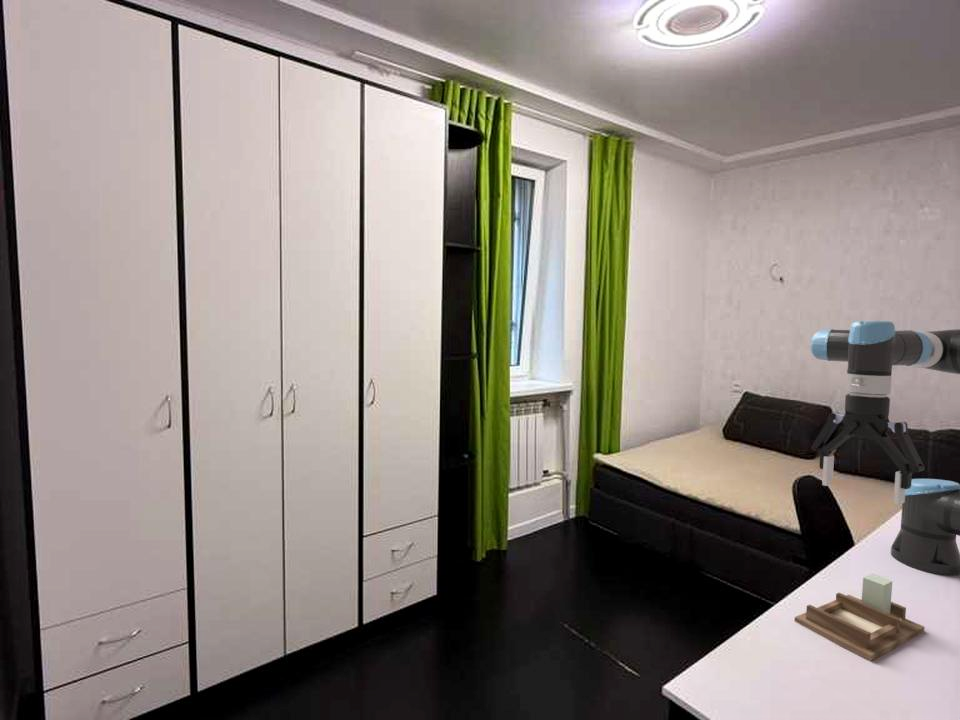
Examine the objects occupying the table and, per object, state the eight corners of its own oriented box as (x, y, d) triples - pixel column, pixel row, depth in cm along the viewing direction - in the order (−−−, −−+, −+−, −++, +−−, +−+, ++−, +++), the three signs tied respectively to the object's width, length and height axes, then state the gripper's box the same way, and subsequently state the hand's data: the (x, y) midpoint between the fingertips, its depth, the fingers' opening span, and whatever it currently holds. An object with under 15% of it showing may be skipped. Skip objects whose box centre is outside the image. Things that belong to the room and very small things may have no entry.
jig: (848, 599, 126) (849, 582, 126) (924, 632, 113) (925, 613, 112) (794, 622, 115) (795, 604, 115) (870, 661, 102) (872, 640, 102)
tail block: (860, 611, 118) (863, 577, 117) (869, 607, 120) (871, 573, 119) (881, 620, 115) (884, 585, 114) (889, 615, 117) (892, 581, 116)
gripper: (797, 388, 118) (792, 480, 120) (932, 404, 97) (924, 515, 98) (815, 386, 122) (811, 475, 123) (950, 401, 100) (942, 509, 102)
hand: (861, 493), depth 111 cm, fingers open, 13 cm apart
